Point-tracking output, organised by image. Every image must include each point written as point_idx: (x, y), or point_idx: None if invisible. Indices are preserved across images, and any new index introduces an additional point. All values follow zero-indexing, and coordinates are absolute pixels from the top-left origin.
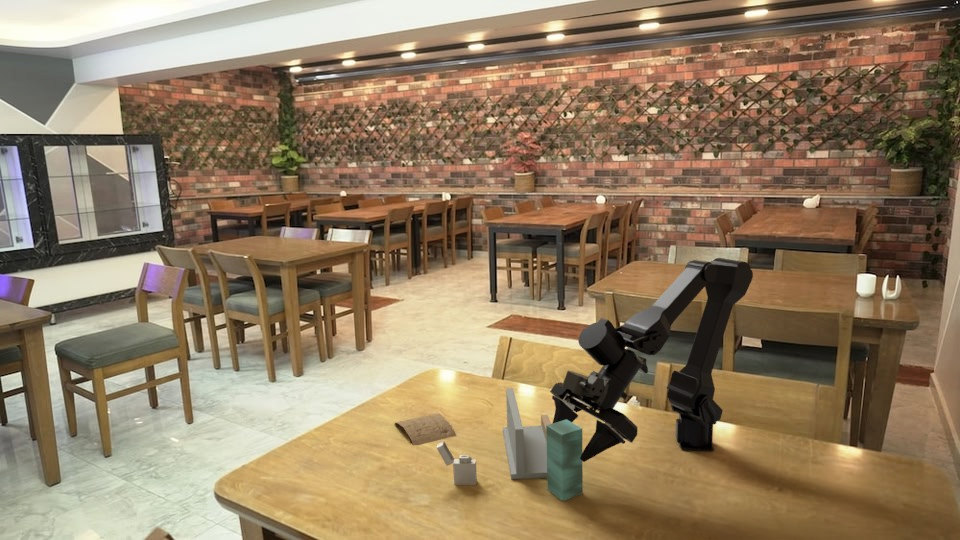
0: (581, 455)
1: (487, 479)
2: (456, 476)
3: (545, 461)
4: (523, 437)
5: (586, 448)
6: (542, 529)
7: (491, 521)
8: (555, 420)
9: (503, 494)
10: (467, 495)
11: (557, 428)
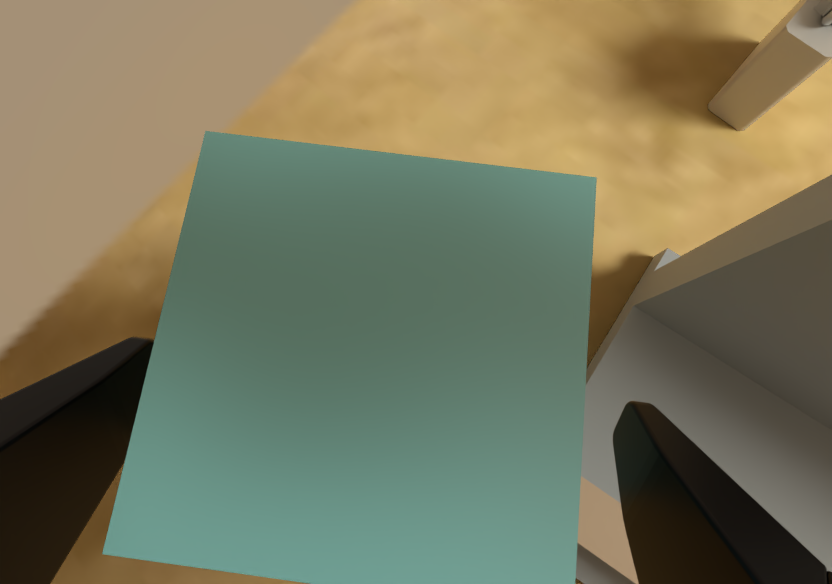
0: (129, 349)
1: (718, 172)
2: (783, 18)
3: None
4: (794, 235)
5: (48, 394)
6: (259, 113)
7: (434, 6)
8: (783, 570)
9: (564, 150)
10: (650, 37)
11: (400, 228)
